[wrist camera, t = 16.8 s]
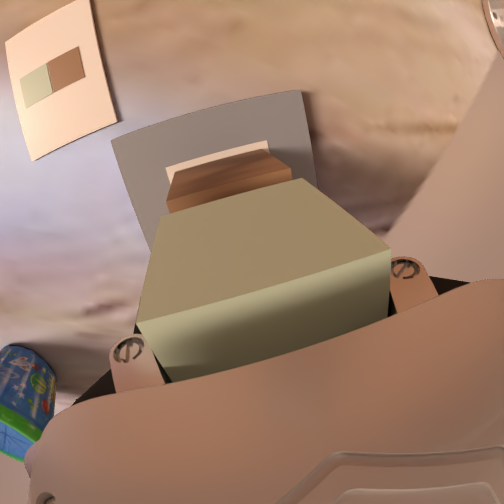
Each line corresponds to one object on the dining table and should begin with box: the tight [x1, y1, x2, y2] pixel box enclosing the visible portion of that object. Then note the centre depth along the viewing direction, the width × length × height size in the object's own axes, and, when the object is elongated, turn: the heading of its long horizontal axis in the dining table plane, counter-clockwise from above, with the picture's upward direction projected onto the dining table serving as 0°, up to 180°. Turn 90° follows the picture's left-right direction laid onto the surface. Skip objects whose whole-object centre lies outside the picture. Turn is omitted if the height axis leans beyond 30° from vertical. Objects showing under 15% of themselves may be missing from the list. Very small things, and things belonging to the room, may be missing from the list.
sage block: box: [136, 178, 391, 382], centre depth 10 cm, size 6×6×6 cm
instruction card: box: [5, 0, 118, 161], centre depth 14 cm, size 7×10×1 cm
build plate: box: [111, 90, 318, 251], centre depth 20 cm, size 12×12×1 cm
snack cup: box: [0, 345, 77, 462], centre depth 20 cm, size 16×10×10 cm
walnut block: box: [166, 149, 293, 214], centre depth 16 cm, size 6×6×6 cm
